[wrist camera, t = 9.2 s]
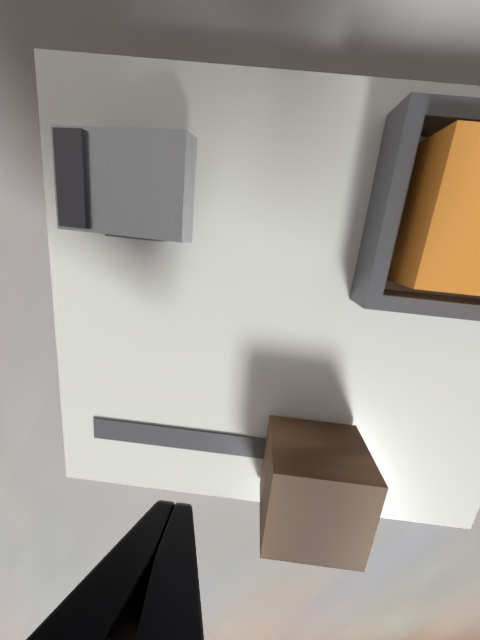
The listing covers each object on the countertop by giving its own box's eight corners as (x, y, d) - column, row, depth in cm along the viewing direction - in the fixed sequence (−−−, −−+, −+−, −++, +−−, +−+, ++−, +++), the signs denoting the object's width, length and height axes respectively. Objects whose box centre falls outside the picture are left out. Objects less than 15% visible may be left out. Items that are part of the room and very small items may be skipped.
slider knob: (355, 425, 12) (388, 488, 9) (339, 494, 13) (364, 572, 10) (269, 415, 12) (273, 473, 9) (259, 484, 13) (259, 558, 10)
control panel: (591, 118, 10) (724, 71, 7) (450, 501, 15) (497, 566, 12) (63, 72, 11) (-10, 11, 8) (84, 454, 16) (43, 506, 13)
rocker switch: (197, 138, 9) (184, 127, 8) (192, 242, 10) (179, 242, 9) (70, 134, 10) (46, 123, 9) (75, 229, 11) (53, 228, 10)
